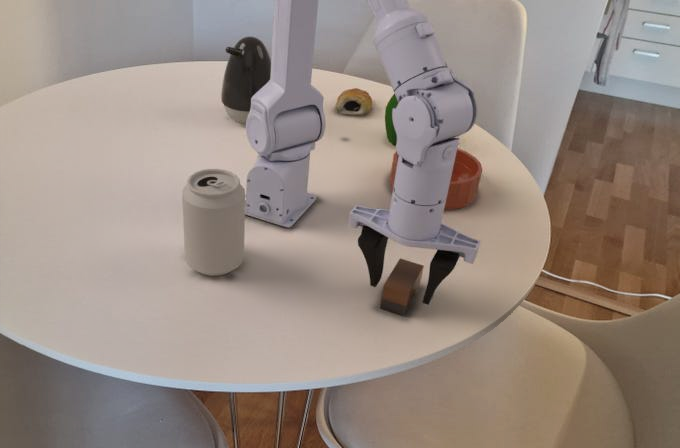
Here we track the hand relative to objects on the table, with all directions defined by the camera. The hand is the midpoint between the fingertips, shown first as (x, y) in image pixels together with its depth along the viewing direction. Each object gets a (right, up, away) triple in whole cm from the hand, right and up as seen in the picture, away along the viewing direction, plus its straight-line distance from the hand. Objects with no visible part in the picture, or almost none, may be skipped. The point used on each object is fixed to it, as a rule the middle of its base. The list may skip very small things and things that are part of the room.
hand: (401, 290), depth 77 cm
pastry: (0, +30, +49) cm, 57 cm away
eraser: (0, -1, +1) cm, 1 cm away
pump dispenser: (-20, +27, +43) cm, 55 cm away
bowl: (+10, +14, +24) cm, 29 cm away
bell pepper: (+8, +22, +37) cm, 44 cm away
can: (-23, +3, +5) cm, 24 cm away
